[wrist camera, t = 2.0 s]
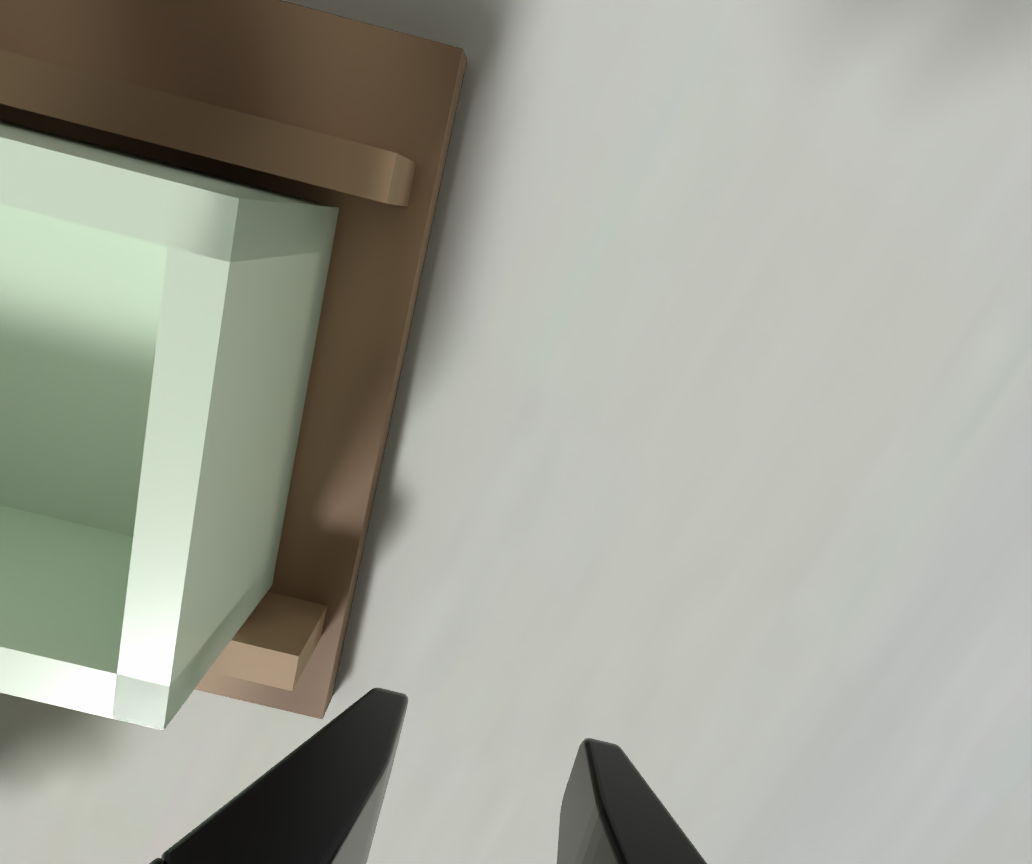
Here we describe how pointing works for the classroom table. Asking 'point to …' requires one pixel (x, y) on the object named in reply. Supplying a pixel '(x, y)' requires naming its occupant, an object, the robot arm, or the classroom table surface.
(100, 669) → the sage green bevelled box
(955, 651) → the classroom table surface
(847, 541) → the classroom table surface
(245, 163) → the wooden serving tray
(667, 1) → the classroom table surface
